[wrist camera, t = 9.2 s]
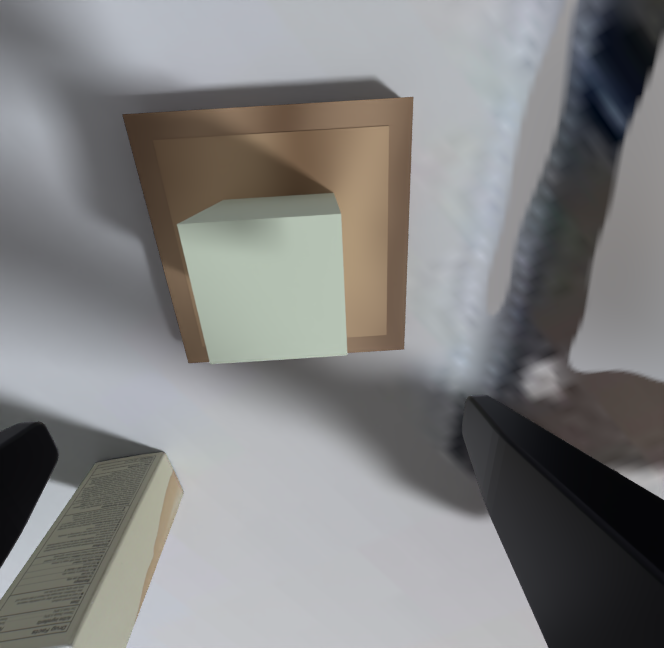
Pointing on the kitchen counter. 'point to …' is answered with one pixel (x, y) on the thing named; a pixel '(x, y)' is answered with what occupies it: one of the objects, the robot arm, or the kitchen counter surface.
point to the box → (95, 559)
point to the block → (268, 277)
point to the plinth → (289, 193)
